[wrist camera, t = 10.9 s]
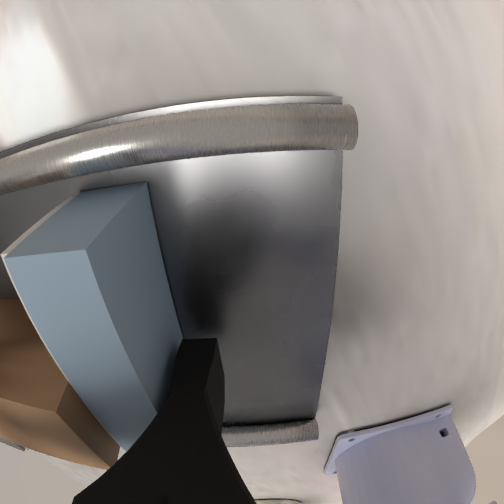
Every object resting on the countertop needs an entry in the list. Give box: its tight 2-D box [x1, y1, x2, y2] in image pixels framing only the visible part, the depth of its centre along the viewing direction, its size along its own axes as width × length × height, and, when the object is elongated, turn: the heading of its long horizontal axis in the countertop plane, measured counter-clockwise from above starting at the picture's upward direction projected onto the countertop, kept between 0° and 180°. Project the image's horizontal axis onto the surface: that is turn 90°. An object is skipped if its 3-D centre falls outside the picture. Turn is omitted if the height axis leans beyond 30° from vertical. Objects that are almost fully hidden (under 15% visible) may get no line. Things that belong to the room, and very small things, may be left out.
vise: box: [0, 96, 358, 451], centre depth 10 cm, size 20×16×5 cm
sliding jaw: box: [0, 182, 183, 453], centre depth 9 cm, size 2×12×4 cm, turn 4°
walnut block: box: [0, 299, 120, 470], centre depth 9 cm, size 8×4×5 cm, turn 94°
